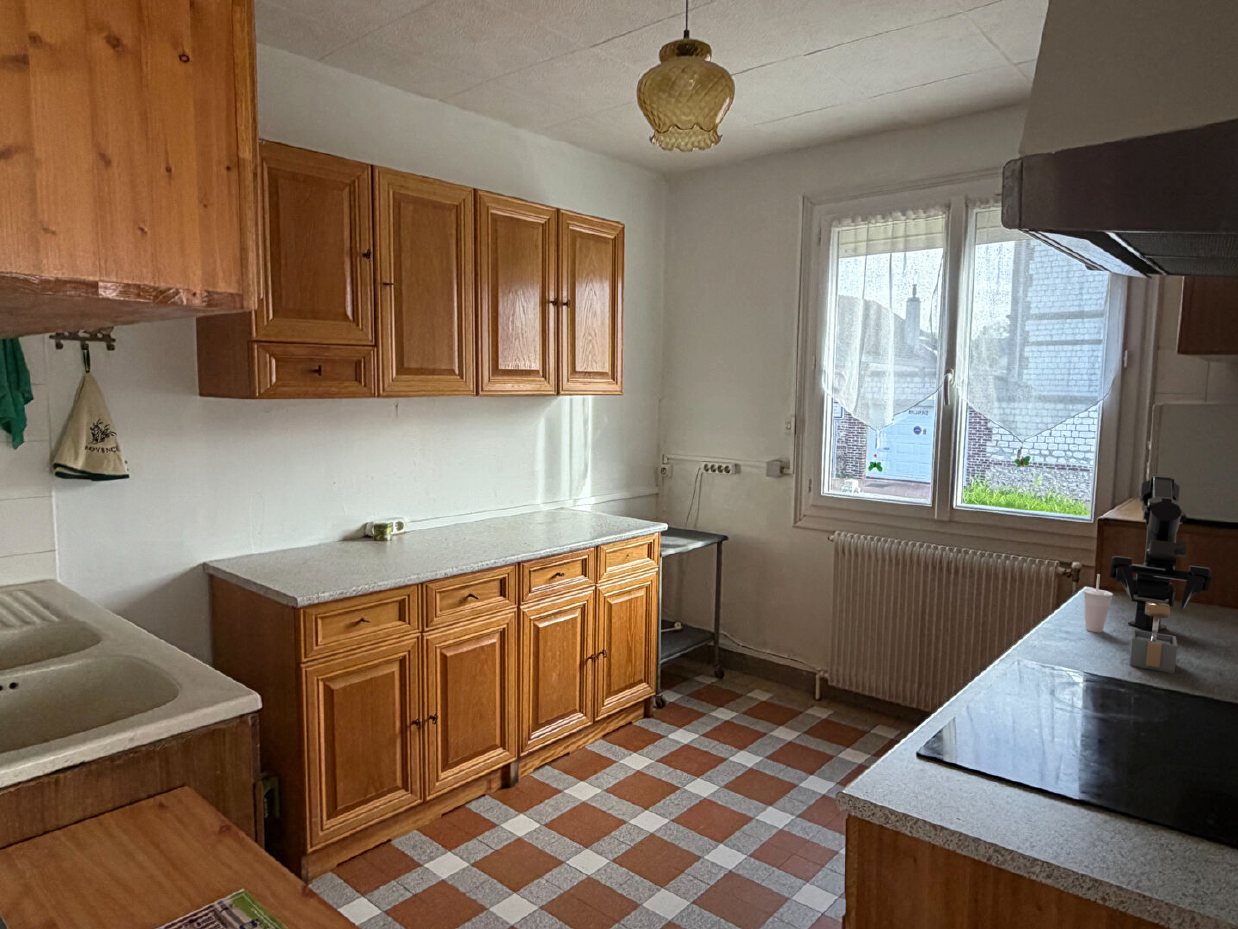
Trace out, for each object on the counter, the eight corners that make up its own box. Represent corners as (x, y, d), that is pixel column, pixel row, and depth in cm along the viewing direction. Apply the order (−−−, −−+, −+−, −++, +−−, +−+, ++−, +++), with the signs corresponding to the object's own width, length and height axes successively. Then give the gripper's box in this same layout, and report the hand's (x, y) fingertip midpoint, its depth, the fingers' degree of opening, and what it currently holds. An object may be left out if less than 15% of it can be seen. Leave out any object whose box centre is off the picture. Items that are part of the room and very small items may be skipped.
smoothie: (1101, 626, 201) (1107, 572, 200) (1114, 635, 195) (1120, 578, 194) (1074, 625, 202) (1080, 570, 200) (1086, 633, 196) (1092, 577, 194)
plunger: (1136, 638, 179) (1140, 598, 178) (1169, 644, 176) (1174, 603, 175) (1136, 645, 174) (1141, 604, 173) (1171, 651, 170) (1176, 610, 169)
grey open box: (1129, 655, 181) (1132, 629, 180) (1172, 662, 176) (1175, 636, 176) (1129, 666, 173) (1132, 639, 172) (1174, 675, 169) (1177, 647, 168)
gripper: (1115, 521, 184) (1110, 577, 176) (1215, 532, 175) (1215, 591, 166) (1112, 549, 192) (1106, 604, 184) (1208, 561, 182) (1207, 620, 174)
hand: (1157, 604), depth 177 cm, fingers open, 9 cm apart
